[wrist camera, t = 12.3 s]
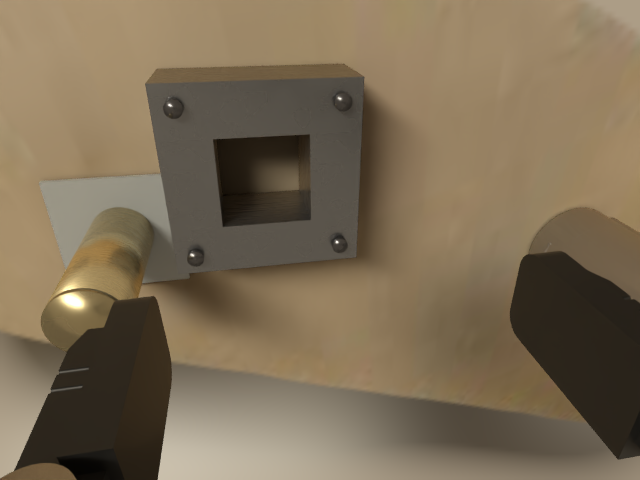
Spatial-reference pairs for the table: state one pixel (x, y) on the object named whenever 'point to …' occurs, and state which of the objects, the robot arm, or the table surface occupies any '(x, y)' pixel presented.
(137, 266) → the brass cylindrical shaft
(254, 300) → the table surface
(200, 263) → the grey square socket block
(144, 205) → the rubber mat
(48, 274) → the table surface
